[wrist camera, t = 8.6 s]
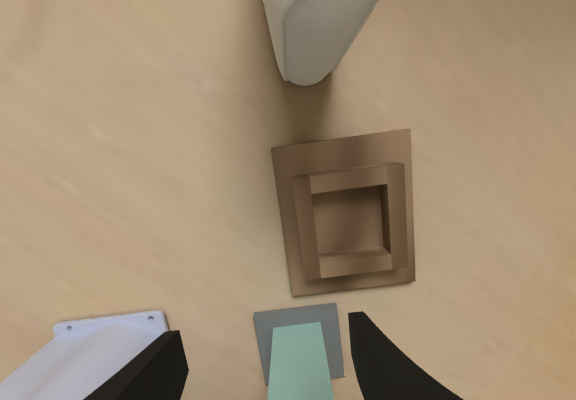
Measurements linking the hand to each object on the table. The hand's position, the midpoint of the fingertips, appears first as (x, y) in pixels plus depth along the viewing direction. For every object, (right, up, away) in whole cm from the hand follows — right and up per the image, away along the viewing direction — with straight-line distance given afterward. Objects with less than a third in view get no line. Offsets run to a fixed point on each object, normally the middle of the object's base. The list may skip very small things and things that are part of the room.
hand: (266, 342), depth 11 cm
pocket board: (+5, +5, +10) cm, 12 cm away
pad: (+2, -7, +12) cm, 14 cm away
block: (+2, -6, +12) cm, 13 cm away
